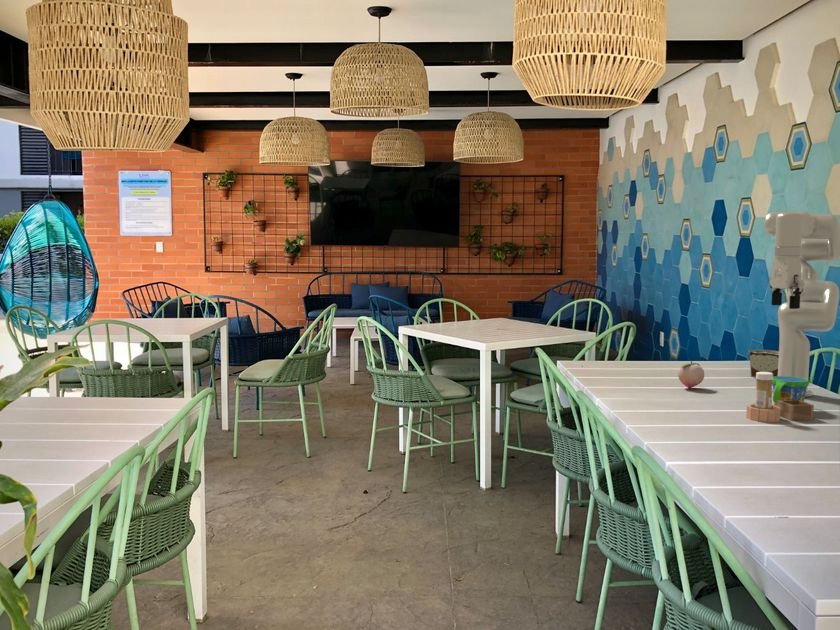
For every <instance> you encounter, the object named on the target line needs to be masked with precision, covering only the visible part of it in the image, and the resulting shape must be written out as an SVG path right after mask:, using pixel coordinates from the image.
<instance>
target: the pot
mask: <svg viewBox="0 0 840 630" xmlns="http://www.w3.org/2000/svg"><path fill="white" fill-rule="evenodd" d="M745 416H746V419H748V420H750V421H756V422H760V423H762V422H763V423H777V422H780V421H781V417H780V407H778V406H775V405H774V404H772V407H771V409H768V410H767V409H758V408H756V406H755V403H748V404H746V415H745Z"/></svg>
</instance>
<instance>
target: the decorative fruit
mask: <svg viewBox="0 0 840 630" xmlns="http://www.w3.org/2000/svg"><path fill="white" fill-rule="evenodd" d="M700 365H701V364H699V363H697V362H693V360H690V363H683V364H682V365H681V367H680V368H679V369H678V371H677V377H678V380H679V381H680V383H682V384H683V385H684V387H686V388H688V389H692V388H693V387H696V386H698V385H700V384H702V382H703V381H704V378H705V370H704V369H703V367H702V366H700Z"/></svg>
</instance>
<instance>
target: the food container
mask: <svg viewBox="0 0 840 630" xmlns="http://www.w3.org/2000/svg"><path fill="white" fill-rule="evenodd" d="M747 356H749V366H750V367H749V368H750V377H752V378H756V373H757V372H770V373H773V377H775V376H778V362H779V350H778V351H777V350H771V349H751V350H749V352H748V354H747Z"/></svg>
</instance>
